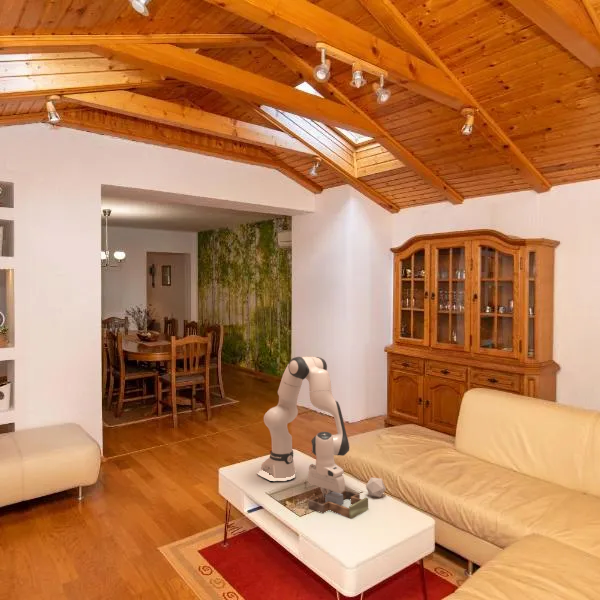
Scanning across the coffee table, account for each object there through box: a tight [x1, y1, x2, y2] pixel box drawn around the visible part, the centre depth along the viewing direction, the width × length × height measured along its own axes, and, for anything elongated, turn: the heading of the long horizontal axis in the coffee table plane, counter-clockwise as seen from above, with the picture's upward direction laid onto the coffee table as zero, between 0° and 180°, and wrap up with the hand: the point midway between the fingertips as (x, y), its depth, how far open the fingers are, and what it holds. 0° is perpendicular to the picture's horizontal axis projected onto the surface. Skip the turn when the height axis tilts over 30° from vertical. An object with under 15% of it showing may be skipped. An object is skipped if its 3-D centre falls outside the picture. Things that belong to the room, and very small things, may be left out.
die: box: [365, 476, 387, 498], centre depth 232 cm, size 8×9×10 cm
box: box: [308, 489, 369, 519], centre depth 221 cm, size 24×21×5 cm
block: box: [324, 491, 344, 506], centre depth 223 cm, size 6×6×4 cm
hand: (326, 497), depth 226 cm, fingers closed
